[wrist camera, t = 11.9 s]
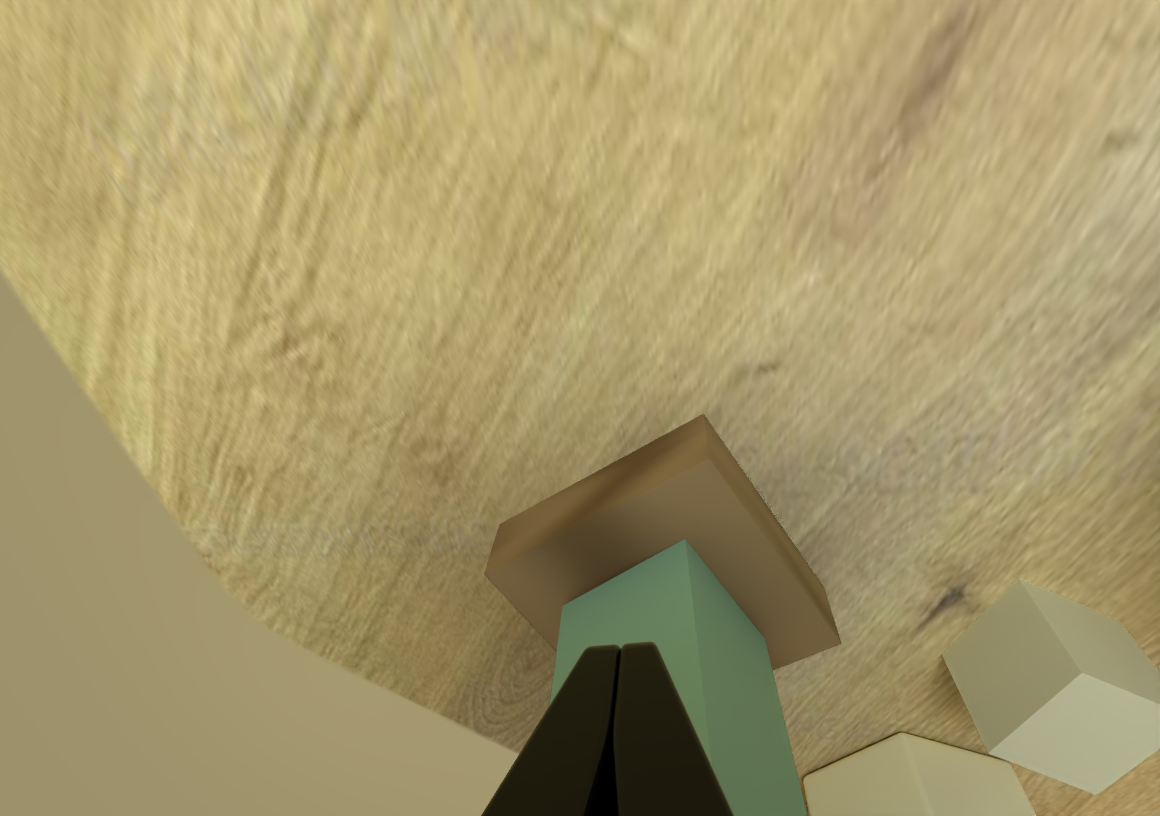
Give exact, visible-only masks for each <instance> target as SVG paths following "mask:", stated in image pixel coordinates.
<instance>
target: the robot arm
mask: <svg viewBox="0 0 1160 816" xmlns="http://www.w3.org/2000/svg"><path fill="white" fill-rule="evenodd" d="M481 816H734V814H733V812H732V810H731V808H730V805H729V803H728V801H727V799H726V797H725V794H724V792H723V790H722V788H721V786H720V783H719V781H718V779H717V777H716V775H715V772H714V770H713V768H712V766H711V764H710V761H709V759H708V757H707V755H706V753H705V750H704V748H703V746H702V744H701V742H700V739H699V737H698V735H697V733H696V731H695V728H694V726H693V724H692V722H691V720H690V717H689V715H688V713H687V711H686V709H685V706H684V704H683V702H682V700H681V698H680V695H679V693H678V691H677V689H676V687H675V684H674V682H673V680H672V678H671V676H670V674H669V671H668V669H667V667H666V665H665V663H664V660H663V658H662V656H661V654H660V652H659V649H658V647H657V645H656V644H655V643H653V642H639V643H626V644H624V645H623V646H622V648H620V647H619V646H618V645H615V644H612V645H598V646H589V647H587V648H586V649H585V650H584V651H583V653H582V654H581V656H580V657H579V659H578V661H577V662H576V664H575V665H574V667H573V669H572V670H571V672H570V673H569V675H568V677H567V678H566V680H565V682H564V683H563V685H562V686H561V688H560V690H559V691H558V693H557V694H556V696H555V698H554V699H553V701H552V702H551V704H550V706H549V707H548V709H547V711H546V712H545V714H544V715H543V717H542V719H541V720H540V722H539V723H538V725H537V727H536V728H535V730H534V731H533V733H532V735H531V736H530V738H529V740H528V741H527V743H526V744H525V746H524V748H523V749H522V751H521V752H520V754H519V756H518V757H517V759H516V760H515V762H514V764H513V765H512V767H511V769H510V770H509V772H508V773H507V775H506V777H505V778H504V780H503V782H502V783H501V785H500V786H499V788H498V789H497V791H496V793H495V795H494V796H493V798H492V799H491V801H490V802H489V804H488V806H487V807H486V809H485V810H484V812H483V814H482V815H481Z"/></svg>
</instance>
